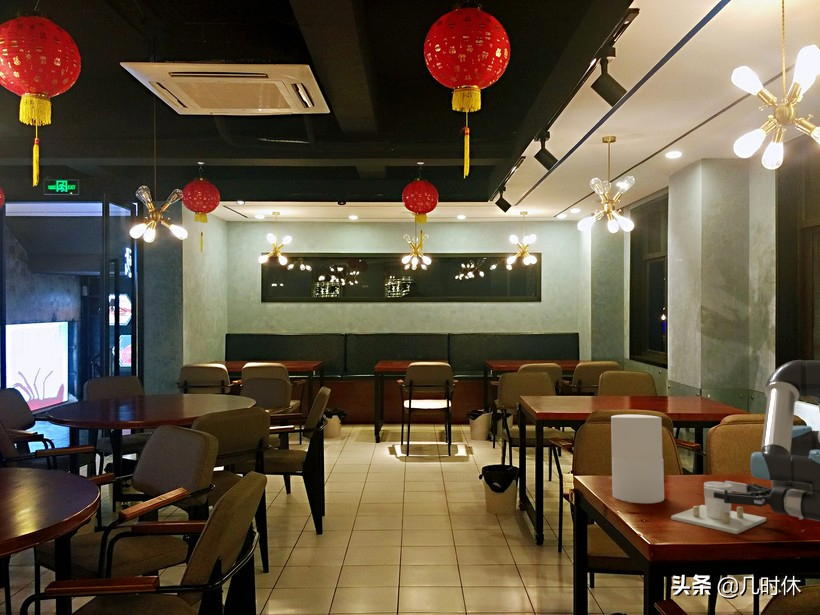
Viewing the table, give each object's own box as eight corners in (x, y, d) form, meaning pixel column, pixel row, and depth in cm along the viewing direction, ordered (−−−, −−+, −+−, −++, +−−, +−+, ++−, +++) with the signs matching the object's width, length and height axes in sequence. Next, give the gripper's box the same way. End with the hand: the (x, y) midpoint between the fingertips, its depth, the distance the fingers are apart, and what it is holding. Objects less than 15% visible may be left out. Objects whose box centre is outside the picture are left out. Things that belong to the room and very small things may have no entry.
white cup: (710, 511, 209) (709, 480, 210) (736, 516, 204) (735, 484, 204) (700, 516, 204) (699, 484, 204) (727, 522, 198) (726, 488, 198)
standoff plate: (766, 520, 202) (765, 507, 202) (736, 534, 189) (736, 520, 190) (702, 507, 218) (702, 495, 218) (671, 519, 205) (670, 506, 205)
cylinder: (608, 490, 242) (606, 414, 243) (656, 491, 240) (654, 414, 241) (618, 502, 225) (616, 420, 226) (670, 503, 223) (668, 420, 224)
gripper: (770, 523, 180) (695, 507, 196) (806, 507, 195) (734, 494, 212) (770, 495, 180) (695, 482, 196) (805, 482, 196) (733, 470, 212)
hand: (715, 488), depth 204 cm, fingers open, 13 cm apart
